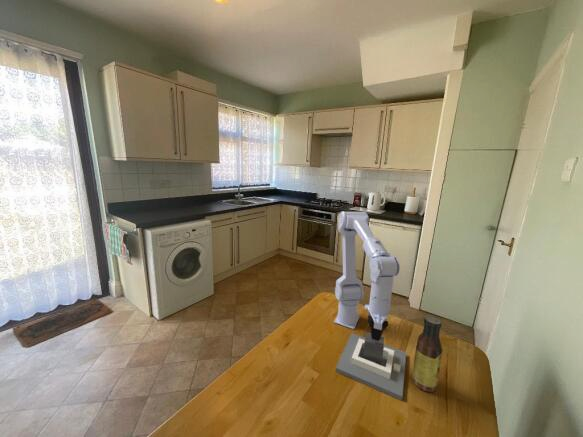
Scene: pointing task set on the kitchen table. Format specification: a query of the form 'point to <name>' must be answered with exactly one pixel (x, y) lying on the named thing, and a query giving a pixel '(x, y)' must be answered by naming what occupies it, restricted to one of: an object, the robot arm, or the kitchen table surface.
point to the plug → (373, 349)
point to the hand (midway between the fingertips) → (375, 336)
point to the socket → (374, 367)
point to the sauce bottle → (428, 355)
